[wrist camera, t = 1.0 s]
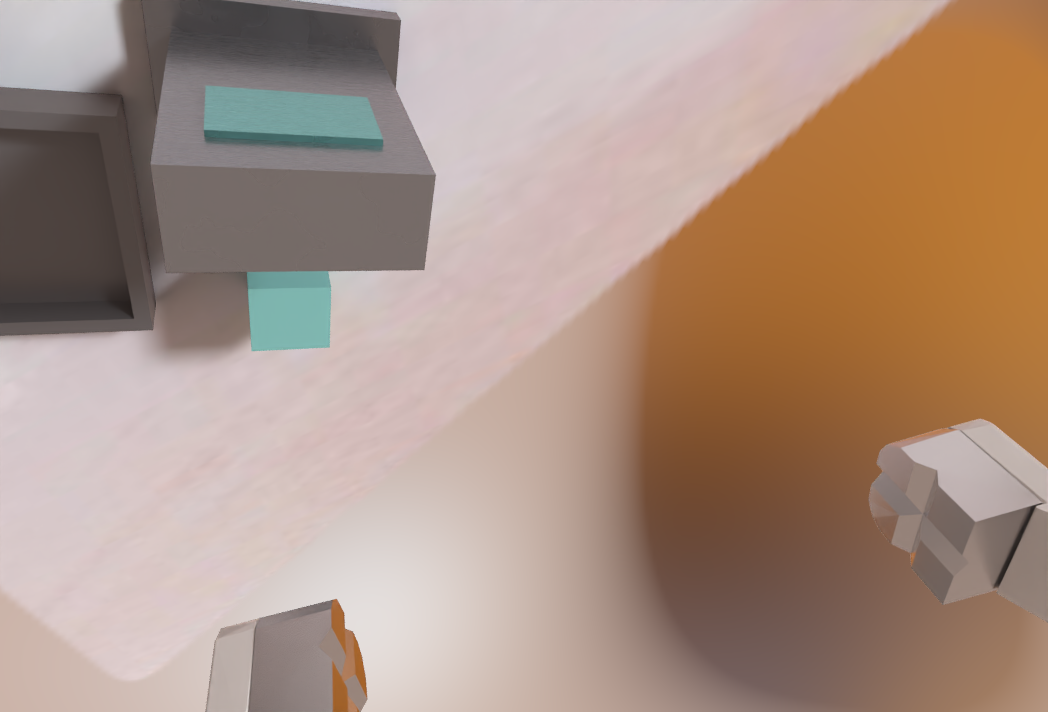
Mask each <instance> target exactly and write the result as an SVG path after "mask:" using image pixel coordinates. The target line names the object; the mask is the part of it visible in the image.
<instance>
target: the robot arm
mask: <svg viewBox="0 0 1048 712" xmlns="http://www.w3.org/2000/svg"><path fill="white" fill-rule="evenodd" d="M877 465H878V466H879V467H880V468H881V469H882V470H883V472H882V473H881V475H879V477H878V478H877V479H876V480H875V481H874V482H873V483H872V485H871V490H870V495H869V504H870V508H871V512H872V516H873V519H874V521H875V522H876V524H877V526H878V528H879V530H880V531H881V532H882V534H883V535H884V536H885V537H886V538H887V540H888V541H889V542H890V543H891V544H892V545H894V546H896V547H899V548H901V549H903V550H905V551H907V552H909V553H910V554H911V568H912V569H913V571H914V572H915V573H916V574H917V575H918V576H919V578H920V579H921V580H922V581H923V582H924V583H925V585H926V586H927V587H928V588H929V589H930V590H931V592H932V593H933V594H934V595H935V596H936V597H937V599H938V600H939V601H940V602H941V603H942V605H944V604H948V603H952V602H955V601H959V600H962V599H966V598H969V597H973V596H977V595H980V594H983V593H987V592H991V591H994V590H997V594H999V595H1000V596H1002V597H1004V598H1006V599H1007V600H1009V601H1011V602H1013V603H1014V604H1016V605H1018V606H1020V607H1021V608H1023V609H1025V610H1027V611H1028V612H1030V613H1032V614H1034V615H1036V616H1037V617H1039V618H1041V619H1043V620H1045V621H1046V622H1048V469H1047V468H1046V467H1045V466H1044V465H1043V464H1041V463H1040V462H1039V461H1038V460H1036V459H1035V458H1034V457H1033V456H1032V455H1030V454H1029V453H1028V452H1027V451H1026V450H1024V449H1023V448H1022V447H1021V446H1019V445H1018V444H1017V443H1016V442H1015V441H1013V440H1012V439H1011V438H1010V437H1008V436H1007V435H1006V434H1005V433H1004V432H1002V431H1001V430H1000V429H998V428H997V427H996V426H995V425H994V424H992V423H990V422H988V421H985V420H983V419H977V420H973V421H969V422H966V423H963V424H959V425H955V426H952V427H949V428H942V429H938V430H935V431H931V432H928V433H925V434H921V435H918V436H914V437H911V438H908V439H904V440H901V441H897V442H894V443H891V444H887V445H886V446H885V447H884V448H883V449H882V450H881V451H880V453H879V457H878V461H877ZM366 701H367V688H366V677H365V671H364V666H363V660H362V655H361V652H360V648H359V645H358V642H357V640H356V637H355V635H354V633H353V632H352V631H350V630H347V629H345V620H344V612H343V610H342V608H341V606H340V604H339V602H338V600H337V599H334V600H331V601H326V602H322V603H318V604H314V605H310V606H307V607H302V608H298V609H294V610H290V611H287V612H282V613H279V614H274V615H271V616H266V617H262V618H258V619H255V620H251V621H248V622H244V623H240V624H236V625H233V626H229V627H225V628H221V630H220V632H219V634H218V636H217V638H216V640H215V644H214V651H213V659H212V666H211V674H210V681H209V689H208V697H207V704H206V711H205V712H361V710H362V708H363V706H364V705H365V703H366Z"/></svg>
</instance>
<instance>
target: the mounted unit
mask: <svg viewBox="0 0 1048 712" xmlns="http://www.w3.org/2000/svg"><path fill="white" fill-rule="evenodd" d="M141 1H142V8H143V16H144V23H145V31H146V38H147V45H148V53H149V60H150V67H151V75H152V82H153V90H154V97H155V104H156V112H157V124H156V130H155V136H154V143H153V149H152V156H151V162H150V166H151V173H152V180H153V187H154V193H155V200H156V207H157V214H158V220H159V227H160V234H161V241H162V247H163V254H164V261H165V268H166V273H208V272H294V271H381V270H424V268H425V260H426V251H427V243H428V235H429V226H430V218H431V210H432V201H433V193H434V185H435V177H436V174H435V172H434V170H433V168H432V166H431V164H430V162H429V160H428V157H427V155H426V153H425V151H424V149H423V147H422V145H421V142H420V140H419V138H418V136H417V134H416V132H415V130H414V127H413V125H412V123H411V121H410V119H409V117H408V115H407V112H406V110H405V108H404V106H403V104H402V102H401V100H400V97H399V95H398V93H397V91H396V77H397V64H398V51H399V38H400V25H401V20H400V18H399V16H398V15H397V13H394V12H385V11H376V10H368V9H359V8H351V7H342V6H334V5H325V4H317V3H308V2H300V1H291V0H141Z"/></svg>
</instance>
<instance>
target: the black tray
mask: <svg viewBox="0 0 1048 712" xmlns="http://www.w3.org/2000/svg"><path fill="white" fill-rule="evenodd" d="M155 307H156V301H155V295H154V289H153V283H152V276H151V270H150V264H149V258H148V252H147V246H146V240H145V234H144V228H143V222H142V216H141V209H140V203H139V197H138V191H137V185H136V179H135V173H134V167H133V161H132V155H131V149H130V142H129V136H128V130H127V124H126V118H125V112H124V106H123V100H122V95H111V94H96V93H81V92H66V91H51V90H36V89H21V88H6V87H0V336H5V335H32V334H59V333H86V332H113V331H140V330H153V325H154V316H155Z"/></svg>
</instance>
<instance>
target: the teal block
mask: <svg viewBox="0 0 1048 712" xmlns="http://www.w3.org/2000/svg"><path fill="white" fill-rule="evenodd" d="M247 284H248V301H249V316H250V332H251V347H252V351H266V350H286V349H307V348H327V347H330V309H331V285H330V280H329V274H328V271H294V272H247Z"/></svg>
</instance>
